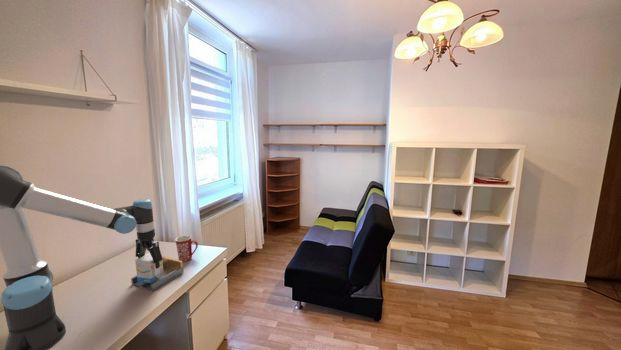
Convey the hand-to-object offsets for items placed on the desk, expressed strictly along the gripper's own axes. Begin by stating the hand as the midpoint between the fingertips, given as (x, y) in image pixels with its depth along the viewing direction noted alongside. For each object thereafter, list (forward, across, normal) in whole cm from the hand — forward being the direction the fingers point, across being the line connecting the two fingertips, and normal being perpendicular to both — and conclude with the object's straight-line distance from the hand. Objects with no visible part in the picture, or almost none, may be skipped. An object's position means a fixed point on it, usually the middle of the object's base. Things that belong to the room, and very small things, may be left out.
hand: (150, 271), depth 129 cm
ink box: (+4, 0, 0) cm, 4 cm away
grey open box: (+6, 0, -4) cm, 7 cm away
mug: (+6, +3, -26) cm, 27 cm away
